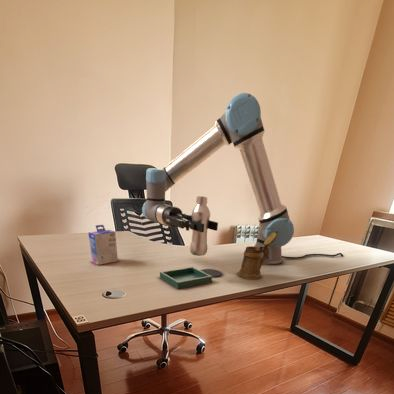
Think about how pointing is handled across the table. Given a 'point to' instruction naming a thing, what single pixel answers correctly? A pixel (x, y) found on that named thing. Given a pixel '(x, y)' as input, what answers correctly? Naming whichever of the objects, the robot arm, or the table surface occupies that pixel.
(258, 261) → the wooden mug
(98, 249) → the ink cartridge box
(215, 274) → the coaster
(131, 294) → the table surface
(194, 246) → the silver metal bottle
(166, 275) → the tray
